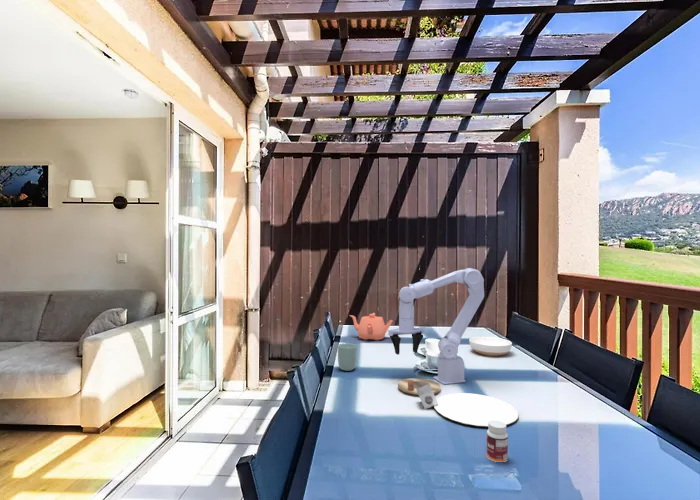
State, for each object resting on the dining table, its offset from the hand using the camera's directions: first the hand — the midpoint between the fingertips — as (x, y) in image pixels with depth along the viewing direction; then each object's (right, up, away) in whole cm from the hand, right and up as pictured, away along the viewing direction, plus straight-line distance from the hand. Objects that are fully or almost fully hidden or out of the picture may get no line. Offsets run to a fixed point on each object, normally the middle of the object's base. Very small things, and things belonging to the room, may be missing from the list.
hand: (406, 353), depth 151 cm
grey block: (+3, -7, -23) cm, 24 cm away
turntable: (+3, -10, -12) cm, 16 cm away
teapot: (-10, -10, +68) cm, 69 cm away
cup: (-23, -10, +11) cm, 27 cm away
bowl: (+46, -11, +38) cm, 61 cm away
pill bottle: (+13, -10, -58) cm, 60 cm away
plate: (+17, -11, -30) cm, 36 cm away
